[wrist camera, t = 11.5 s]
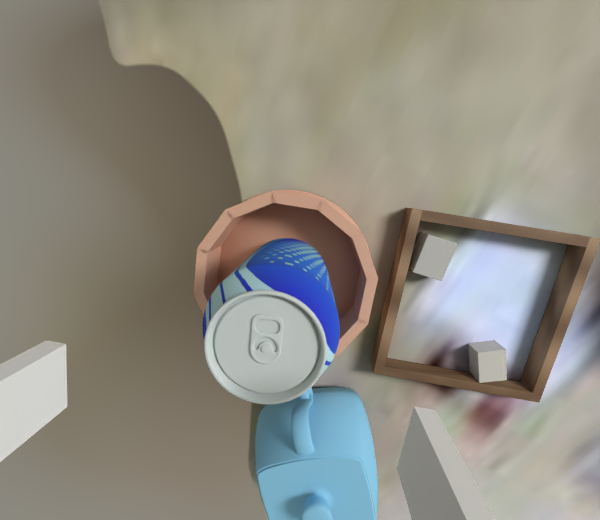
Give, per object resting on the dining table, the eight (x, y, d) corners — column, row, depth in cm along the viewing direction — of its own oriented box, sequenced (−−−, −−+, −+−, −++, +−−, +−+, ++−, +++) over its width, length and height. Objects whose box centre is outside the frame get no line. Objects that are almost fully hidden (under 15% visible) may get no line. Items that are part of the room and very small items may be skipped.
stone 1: (420, 231, 30) (428, 234, 28) (447, 240, 30) (457, 243, 28) (405, 266, 31) (413, 272, 29) (432, 275, 31) (441, 281, 29)
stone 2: (467, 342, 33) (477, 352, 30) (493, 339, 32) (505, 349, 30) (469, 371, 33) (479, 382, 31) (494, 368, 33) (506, 380, 31)
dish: (217, 177, 30) (197, 173, 26) (386, 204, 30) (400, 205, 25) (202, 333, 34) (183, 355, 29) (353, 360, 34) (359, 387, 29)
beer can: (343, 276, 31) (378, 353, 15) (288, 327, 32) (266, 446, 16) (288, 219, 30) (262, 238, 14) (233, 274, 31) (154, 347, 15)
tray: (406, 207, 30) (412, 208, 28) (582, 236, 29) (601, 238, 27) (370, 363, 34) (373, 373, 32) (525, 390, 33) (539, 402, 31)
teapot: (287, 495, 38) (275, 617, 27) (253, 374, 35) (223, 456, 24) (381, 483, 37) (409, 606, 26) (355, 357, 34) (373, 434, 22)
